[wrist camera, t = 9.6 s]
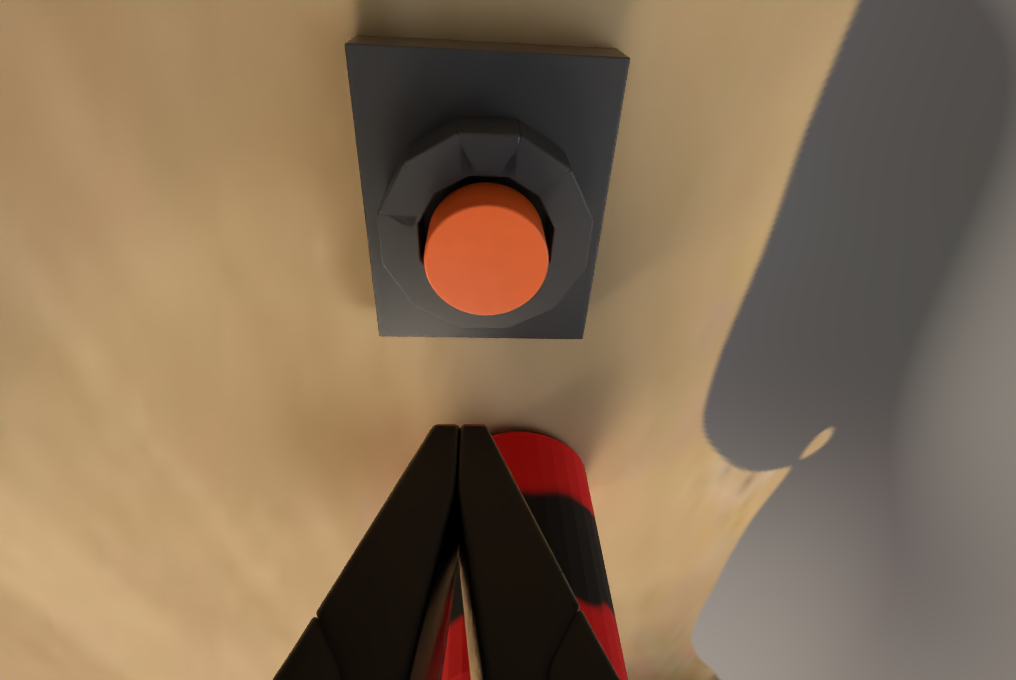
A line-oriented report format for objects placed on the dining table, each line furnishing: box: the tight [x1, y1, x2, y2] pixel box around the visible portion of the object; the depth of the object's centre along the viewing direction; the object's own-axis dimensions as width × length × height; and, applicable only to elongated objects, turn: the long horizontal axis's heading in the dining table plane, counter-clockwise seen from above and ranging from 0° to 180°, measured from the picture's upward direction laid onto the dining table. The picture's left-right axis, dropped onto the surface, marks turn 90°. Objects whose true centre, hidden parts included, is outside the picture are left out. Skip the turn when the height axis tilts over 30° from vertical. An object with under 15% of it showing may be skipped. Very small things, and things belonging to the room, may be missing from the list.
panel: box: [345, 35, 630, 339], centre depth 18 cm, size 10×8×4 cm
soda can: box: [442, 431, 628, 680], centre depth 24 cm, size 8×8×12 cm
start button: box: [424, 182, 549, 315], centre depth 16 cm, size 4×4×2 cm
